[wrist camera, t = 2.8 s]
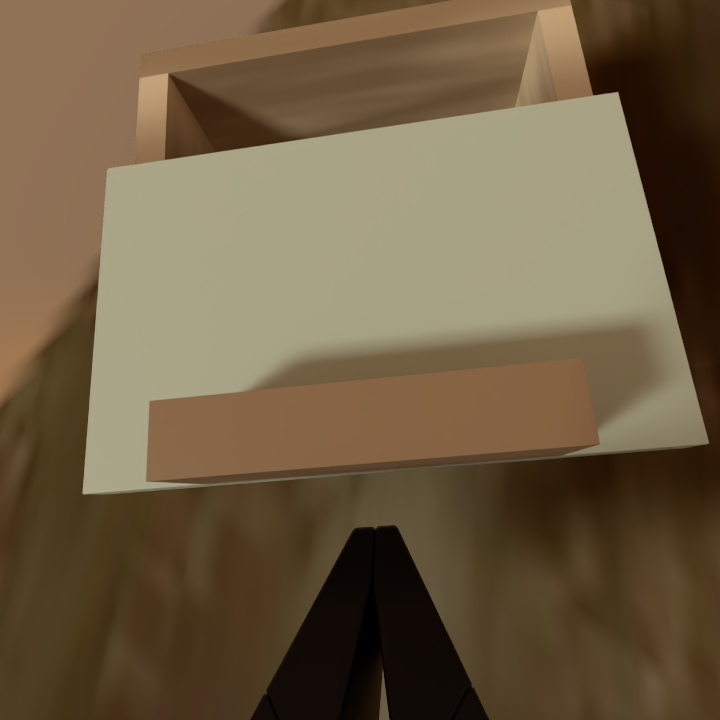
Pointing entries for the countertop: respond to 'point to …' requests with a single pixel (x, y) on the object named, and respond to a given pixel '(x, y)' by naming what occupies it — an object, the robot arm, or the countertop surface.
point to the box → (358, 75)
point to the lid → (385, 305)
